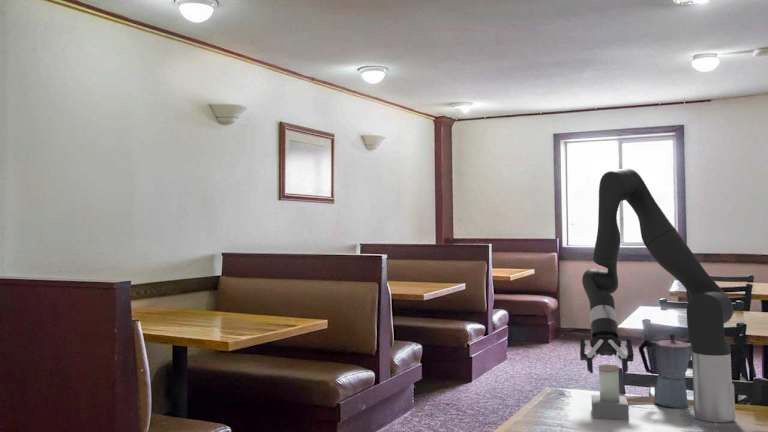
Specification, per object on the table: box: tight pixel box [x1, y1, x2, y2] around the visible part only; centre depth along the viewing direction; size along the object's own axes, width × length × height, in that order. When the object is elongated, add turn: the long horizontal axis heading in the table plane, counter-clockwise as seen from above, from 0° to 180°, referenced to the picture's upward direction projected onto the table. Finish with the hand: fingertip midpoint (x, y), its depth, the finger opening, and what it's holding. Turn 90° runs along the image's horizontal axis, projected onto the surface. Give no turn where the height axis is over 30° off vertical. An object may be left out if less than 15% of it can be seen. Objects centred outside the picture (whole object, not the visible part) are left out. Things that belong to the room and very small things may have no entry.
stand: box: [590, 394, 630, 421], centre depth 180 cm, size 9×9×4 cm
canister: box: [598, 364, 620, 402], centre depth 181 cm, size 5×5×9 cm
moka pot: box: [638, 333, 692, 409], centre depth 189 cm, size 10×15×20 cm, turn 78°
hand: (607, 372), depth 182 cm, fingers open, 8 cm apart
